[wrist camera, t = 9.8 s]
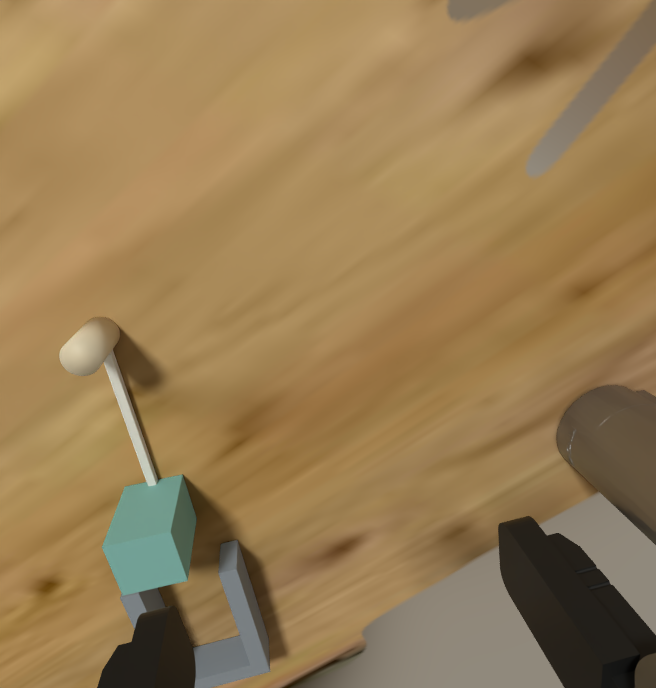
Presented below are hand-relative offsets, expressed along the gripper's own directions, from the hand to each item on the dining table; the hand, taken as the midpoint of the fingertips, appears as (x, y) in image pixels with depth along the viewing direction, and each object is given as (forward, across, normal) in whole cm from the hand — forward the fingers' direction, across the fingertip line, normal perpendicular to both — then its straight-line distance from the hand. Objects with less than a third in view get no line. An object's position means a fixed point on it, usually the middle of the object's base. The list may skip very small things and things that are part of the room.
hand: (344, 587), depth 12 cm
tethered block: (+28, +14, +9) cm, 33 cm away
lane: (+28, +14, +30) cm, 43 cm away
